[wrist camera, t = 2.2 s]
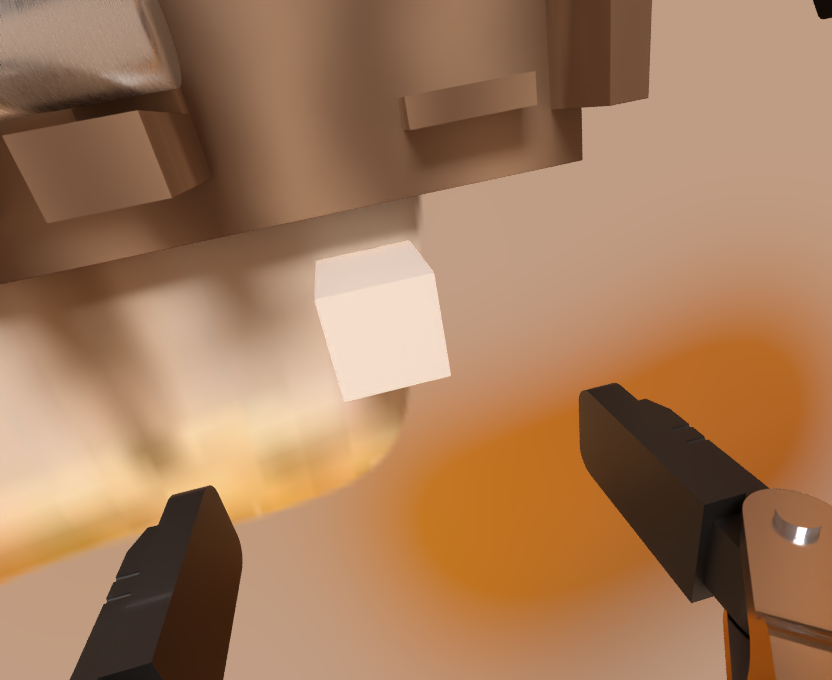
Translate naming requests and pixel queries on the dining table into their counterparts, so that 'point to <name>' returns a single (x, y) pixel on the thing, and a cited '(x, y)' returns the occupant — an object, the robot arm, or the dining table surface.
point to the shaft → (82, 53)
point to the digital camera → (823, 8)
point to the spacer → (381, 319)
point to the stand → (312, 119)
